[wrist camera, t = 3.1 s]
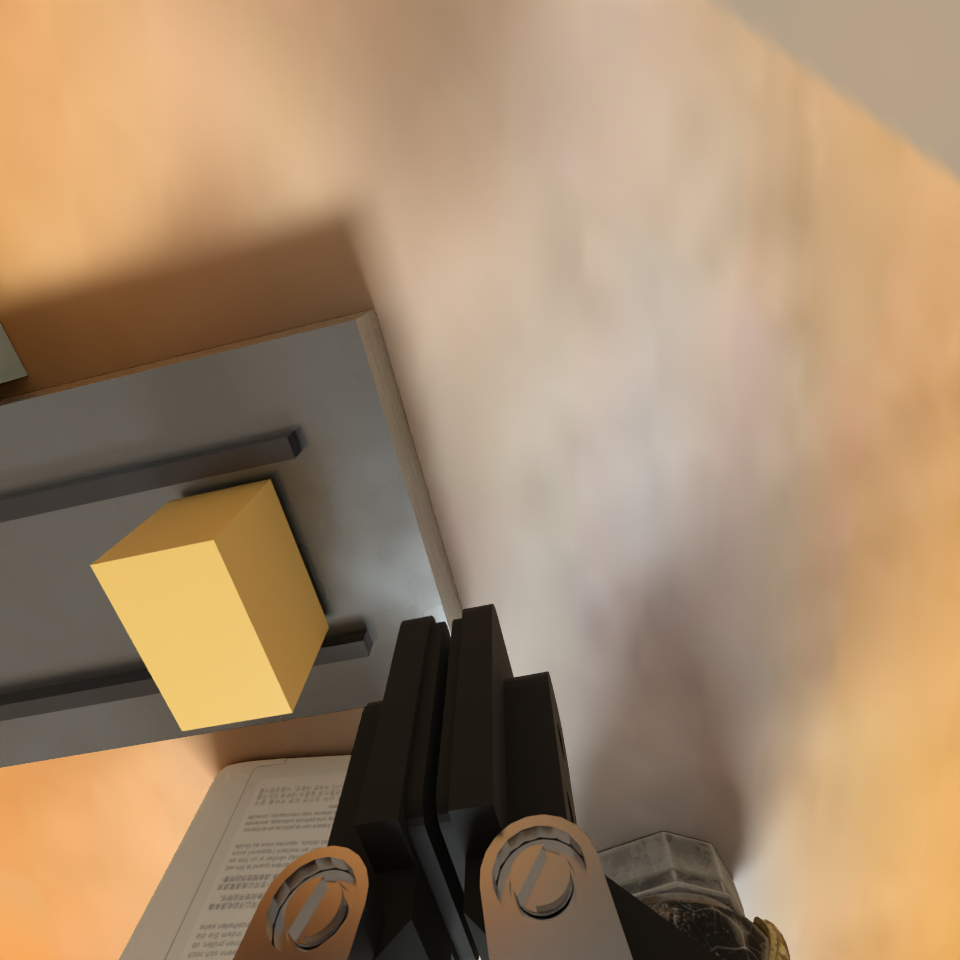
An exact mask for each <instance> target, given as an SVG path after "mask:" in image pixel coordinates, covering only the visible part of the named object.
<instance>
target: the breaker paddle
mask: <svg viewBox="0 0 960 960" xmlns="http://www.w3.org/2000/svg"><path fill="white" fill-rule="evenodd" d="M90 566H91V568H92V570H93V571H94V573H95V575H96V577H97V579H98V580H99V582H100V584H101V586H102V588H103V589H104V591H105V593H106V595H107V597H108V598H109V600H110V602H111V604H112V606H113V608H114V609H115V611H116V613H117V615H118V617H119V618H120V620H121V622H122V624H123V626H124V627H125V629H126V631H127V633H128V635H129V636H130V638H131V640H132V642H133V644H134V645H135V647H136V649H137V651H138V653H139V654H140V656H141V658H142V660H143V662H144V663H145V665H146V667H147V669H148V671H149V672H150V674H151V676H152V678H153V680H154V681H155V683H156V685H157V687H158V689H159V690H160V692H161V694H162V696H163V698H164V699H165V701H166V703H167V705H168V707H169V708H170V710H171V712H172V714H173V716H174V718H175V719H176V721H177V723H178V725H179V727H180V728H181V730H182V731H187V730H193V729H199V728H205V727H211V726H217V725H223V724H229V723H235V722H241V721H247V720H253V719H259V718H265V717H271V716H277V715H283V714H289V713H293V710H294V708H295V706H296V703H297V701H298V699H299V696H300V694H301V692H302V689H303V687H304V685H305V682H306V680H307V678H308V675H309V673H310V670H311V668H312V666H313V663H314V661H315V659H316V656H317V654H318V652H319V649H320V647H321V645H322V642H323V640H324V638H325V635H326V633H327V631H328V628H329V625H328V623H327V620H326V618H325V615H324V613H323V610H322V608H321V605H320V603H319V600H318V598H317V595H316V593H315V590H314V588H313V585H312V583H311V580H310V577H309V575H308V572H307V570H306V567H305V565H304V562H303V560H302V557H301V555H300V552H299V550H298V547H297V545H296V542H295V540H294V537H293V535H292V532H291V530H290V527H289V524H288V522H287V519H286V517H285V514H284V512H283V509H282V507H281V504H280V502H279V499H278V497H277V494H276V492H275V489H274V487H273V484H272V482H271V479H268V480H263V481H259V482H254V483H249V484H245V485H240V486H235V487H231V488H226V489H221V490H217V491H212V492H207V493H203V494H198V495H193V496H189V497H184V498H179V499H175V500H170V501H169V502H168V503H166V504H165V505H164V506H163V507H161V508H160V509H159V510H158V511H156V512H155V513H154V514H153V515H151V516H150V517H149V518H148V519H147V520H145V521H144V522H143V523H142V524H140V525H139V526H138V527H137V528H135V529H134V530H133V531H132V532H130V533H129V534H128V535H127V536H126V537H124V538H123V539H122V540H121V541H119V542H118V543H117V544H116V545H114V546H113V547H112V548H111V549H109V550H108V551H107V552H106V553H104V554H103V555H102V556H101V557H100V558H98V559H97V560H96V561H95V562H93V563H92V564H91V565H90Z"/></svg>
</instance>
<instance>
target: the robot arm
mask: <svg viewBox="0 0 960 960" xmlns="http://www.w3.org/2000/svg"><path fill="white" fill-rule="evenodd" d="M479 955H480V958H481V960H720V959H719V958H718V957H716V956H715V955H714V954H712V953H711V952H709V951H708V950H707V949H705V948H704V947H703V946H701V945H700V944H699V943H697V942H696V941H695V940H693V939H692V938H690V937H689V936H688V935H686V934H685V933H684V932H682V931H681V930H680V929H678V928H677V927H675V926H674V925H673V924H671V923H670V922H669V921H667V920H666V919H665V918H663V917H662V916H660V915H659V914H658V913H656V912H655V911H654V910H652V909H651V908H650V907H648V906H647V905H646V904H644V903H643V902H641V901H640V900H639V899H637V898H636V897H635V896H633V895H632V894H631V893H629V892H628V891H626V890H625V889H624V888H622V887H621V886H620V885H618V884H617V883H616V882H614V881H613V880H612V879H610V878H609V877H607V876H606V875H605V874H604V872H603V869H602V866H601V863H600V860H599V857H598V854H597V852H596V850H595V848H594V846H593V844H592V842H591V840H590V839H589V837H588V836H587V835H586V834H585V833H584V832H583V831H582V830H581V829H580V828H579V827H578V826H577V823H576V816H575V810H574V803H573V796H572V789H571V783H570V776H569V769H568V762H567V756H566V750H565V744H564V738H563V733H562V727H561V722H560V717H559V713H558V708H557V704H556V699H555V695H554V691H553V687H552V682H551V678H550V675H549V672H543V673H537V674H532V675H526V676H520V677H513V673H512V669H511V665H510V662H509V658H508V654H507V650H506V646H505V643H504V639H503V635H502V631H501V627H500V624H499V620H498V616H497V613H496V609H495V607H494V605H493V604H490V605H484V606H479V607H474V608H468V609H464V610H463V612H462V618H459V619H454V620H453V622H452V631H451V636H450V632H449V629H448V626H447V624H446V622H445V621H443V622H438V623H436V620H435V618H434V617H433V616H432V615H431V616H426V617H420V618H415V619H410V620H404V621H402V622H401V625H400V628H399V633H398V637H397V641H396V646H395V650H394V654H393V659H392V663H391V667H390V672H389V676H388V680H387V685H386V689H385V693H384V698H383V700H382V701H376V702H371V703H368V704H367V705H366V706H365V708H364V711H363V714H362V717H361V721H360V725H359V728H358V732H357V736H356V740H355V743H354V747H353V751H352V755H351V758H350V762H349V766H348V770H347V773H346V777H345V781H344V785H343V788H342V792H341V796H340V799H339V803H338V807H337V811H336V814H335V818H334V822H333V826H332V829H331V833H330V837H329V841H328V844H327V847H322V848H317V849H315V850H313V851H310V852H308V853H306V854H304V855H302V856H300V857H299V858H297V859H296V860H295V861H293V862H292V863H291V864H289V865H288V866H287V867H285V868H284V870H283V871H282V872H281V873H280V874H279V875H278V876H277V877H276V878H275V879H274V881H273V882H272V883H271V884H270V886H269V888H268V889H267V891H266V893H265V894H264V896H263V898H262V899H261V901H260V903H259V905H258V907H257V909H256V912H255V914H254V916H253V918H252V920H251V922H250V924H249V926H248V929H247V931H246V933H245V935H244V937H243V939H242V941H241V943H240V945H239V948H238V950H237V952H236V954H235V956H234V958H233V960H478V959H479Z"/></svg>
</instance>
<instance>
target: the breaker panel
mask: <svg viewBox="0 0 960 960" xmlns="http://www.w3.org/2000/svg"><path fill="white" fill-rule="evenodd" d="M268 479H271V482H272V484H273V487H274V489H275V492H276V494H277V497H278V499H279V502H280V504H281V507H282V509H283V512H284V514H285V517H286V519H287V522H288V524H289V527H290V530H291V532H292V535H293V537H294V540H295V542H296V545H297V547H298V550H299V552H300V555H301V557H302V560H303V562H304V565H305V567H306V570H307V572H308V575H309V577H310V580H311V583H312V585H313V588H314V590H315V593H316V595H317V598H318V600H319V603H320V605H321V608H322V610H323V613H324V615H325V618H326V620H327V623H328V625H329V628H328V631H327V633H326V635H325V638H324V640H323V642H322V645H321V647H320V649H319V652H318V654H317V656H316V659H315V661H314V663H313V666H312V668H311V670H310V673H309V675H308V678H307V680H306V682H305V685H304V687H303V689H302V692H301V694H300V696H299V699H298V701H297V703H296V706H295V708H294V710H293V713H289V714H283V715H277V716H271V717H265V718H259V719H253V720H247V721H241V722H235V723H229V724H223V725H217V726H211V727H205V728H199V729H193V730H187V731H182V730H181V728H180V727H179V725H178V723H177V721H176V719H175V718H174V716H173V714H172V712H171V710H170V708H169V707H168V705H167V703H166V701H165V699H164V698H163V696H162V694H161V692H160V690H159V689H158V687H157V685H156V683H155V681H154V680H153V678H152V676H151V674H150V672H149V671H148V669H147V667H146V665H145V663H144V662H143V660H142V658H141V656H140V654H139V653H138V651H137V649H136V647H135V645H134V644H133V642H132V640H131V638H130V636H129V635H128V633H127V631H126V629H125V627H124V626H123V624H122V622H121V620H120V618H119V617H118V615H117V613H116V611H115V609H114V608H113V606H112V604H111V602H110V600H109V598H108V597H107V595H106V593H105V591H104V589H103V588H102V586H101V584H100V582H99V580H98V579H97V577H96V575H95V573H94V571H93V570H92V568H91V566H90V565H91V564H92V563H93V562H95V561H96V560H97V559H98V558H100V557H101V556H102V555H103V554H104V553H106V552H107V551H108V550H109V549H111V548H112V547H113V546H114V545H116V544H117V543H118V542H119V541H121V540H122V539H123V538H124V537H126V536H127V535H128V534H129V533H130V532H132V531H133V530H134V529H135V528H137V527H138V526H139V525H140V524H142V523H143V522H144V521H145V520H147V519H148V518H149V517H150V516H151V515H153V514H154V513H155V512H156V511H158V510H159V509H160V508H161V507H163V506H164V505H165V504H166V503H168V502H169V501H170V500H175V499H179V498H184V497H189V496H193V495H198V494H203V493H207V492H212V491H217V490H221V489H226V488H231V487H235V486H240V485H245V484H249V483H254V482H259V481H263V480H268ZM431 615H432V616H433V617H434V618H435V620H436V623H438V622H443V621H445V622H446V624H447V626H448V629H449V632H450V636H451V631H452V622H453V620H454V619H459V618H462V609H461V605H460V602H459V598H458V595H457V591H456V588H455V584H454V581H453V578H452V574H451V571H450V567H449V564H448V560H447V557H446V553H445V550H444V547H443V543H442V540H441V536H440V533H439V529H438V526H437V522H436V519H435V515H434V512H433V509H432V505H431V502H430V498H429V495H428V491H427V488H426V484H425V481H424V478H423V474H422V471H421V467H420V464H419V460H418V457H417V453H416V450H415V447H414V443H413V440H412V436H411V433H410V429H409V426H408V422H407V419H406V415H405V412H404V409H403V405H402V402H401V398H400V395H399V391H398V388H397V384H396V381H395V378H394V374H393V371H392V367H391V364H390V360H389V357H388V353H387V350H386V347H385V343H384V340H383V336H382V333H381V329H380V326H379V322H378V319H377V315H376V312H375V309H371V310H367V311H363V312H359V313H355V314H351V315H346V316H342V317H338V318H334V319H330V320H326V321H322V322H318V323H314V324H309V325H305V326H301V327H297V328H293V329H289V330H285V331H281V332H277V333H272V334H268V335H264V336H260V337H256V338H252V339H248V340H244V341H240V342H236V343H231V344H227V345H223V346H219V347H215V348H211V349H207V350H203V351H199V352H194V353H190V354H186V355H182V356H178V357H174V358H170V359H166V360H162V361H157V362H153V363H149V364H145V365H141V366H137V367H133V368H129V369H125V370H120V371H116V372H112V373H108V374H104V375H100V376H96V377H92V378H88V379H83V380H79V381H75V382H71V383H67V384H63V385H59V386H55V387H51V388H46V389H42V390H38V391H34V392H30V393H26V394H22V395H18V396H14V397H9V398H5V399H1V400H0V768H1V767H7V766H13V765H19V764H25V763H31V762H37V761H43V760H49V759H55V758H61V757H67V756H73V755H79V754H85V753H91V752H97V751H103V750H109V749H115V748H121V747H127V746H133V745H139V744H145V743H151V742H157V741H163V740H169V739H175V738H181V737H187V736H193V735H199V734H205V733H211V732H217V731H223V730H229V729H235V728H241V727H247V726H253V725H259V724H265V723H271V722H277V721H283V720H289V719H296V718H302V717H308V716H314V715H320V714H326V713H332V712H338V711H344V710H350V709H356V708H362V707H365V706H366V705H367V704H368V703H371V702H376V701H382V700H383V698H384V693H385V689H386V685H387V680H388V676H389V672H390V667H391V663H392V659H393V654H394V650H395V646H396V641H397V637H398V633H399V628H400V625H401V622H402V621H404V620H410V619H415V618H420V617H426V616H431Z"/></svg>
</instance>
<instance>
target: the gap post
mask: <svg viewBox="0 0 960 960" xmlns="http://www.w3.org/2000/svg"><path fill="white" fill-rule="evenodd" d="M27 375H28V374H27V372H26V370H25V369H24V367H23V365H22V363H21V361H20V359H19V357H18V355H17V353H16V351H15V350H14V348H13V346H12V344H11V342H10V340H9V338H8V336H7V334H6V332H5V331H4V329H3V327H2V325H1V323H0V383H4V382H7V381H11V380H14V379H17V378H21V377H24V376H27Z"/></svg>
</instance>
